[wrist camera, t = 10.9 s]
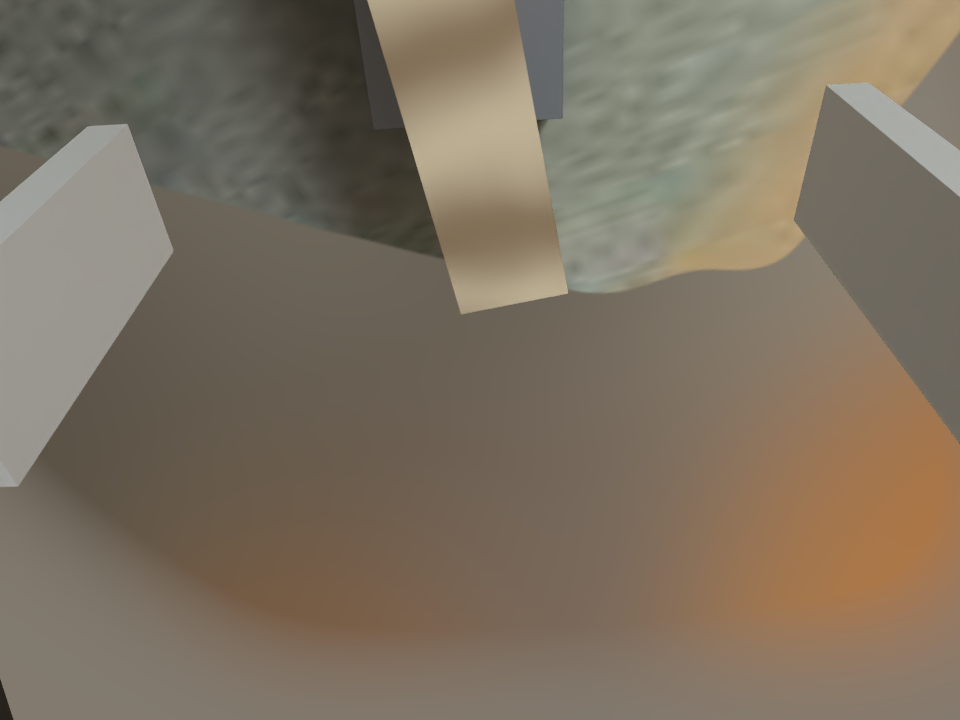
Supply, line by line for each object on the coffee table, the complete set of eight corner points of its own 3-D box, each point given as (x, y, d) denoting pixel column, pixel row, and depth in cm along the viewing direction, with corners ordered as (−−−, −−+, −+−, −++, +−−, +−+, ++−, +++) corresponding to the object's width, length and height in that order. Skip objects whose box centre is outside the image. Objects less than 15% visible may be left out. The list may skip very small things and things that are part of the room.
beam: (557, 240, 36) (568, 293, 32) (462, 259, 37) (460, 314, 33) (449, -349, 23) (444, -381, 19) (304, -302, 24) (270, -323, 20)
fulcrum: (339, -150, 33) (309, -140, 27) (559, -166, 32) (579, -160, 26) (378, 113, 40) (361, 167, 34) (558, 102, 40) (572, 155, 34)
